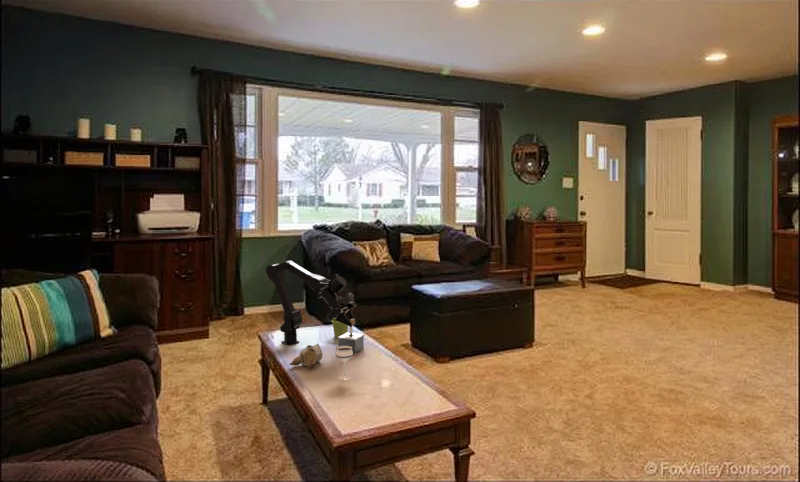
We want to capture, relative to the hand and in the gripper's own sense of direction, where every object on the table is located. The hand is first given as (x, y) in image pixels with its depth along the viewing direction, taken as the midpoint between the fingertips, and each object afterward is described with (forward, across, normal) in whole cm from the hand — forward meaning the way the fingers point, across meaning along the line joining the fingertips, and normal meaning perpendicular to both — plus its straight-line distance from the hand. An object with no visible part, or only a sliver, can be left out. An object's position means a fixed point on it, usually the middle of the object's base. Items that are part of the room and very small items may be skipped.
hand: (353, 325), depth 231 cm
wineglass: (+18, -32, 0) cm, 36 cm away
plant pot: (-3, +18, +21) cm, 28 cm away
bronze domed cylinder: (+4, 0, +6) cm, 7 cm away
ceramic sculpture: (+3, -24, +15) cm, 28 cm away
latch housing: (+8, 0, +10) cm, 12 cm away
